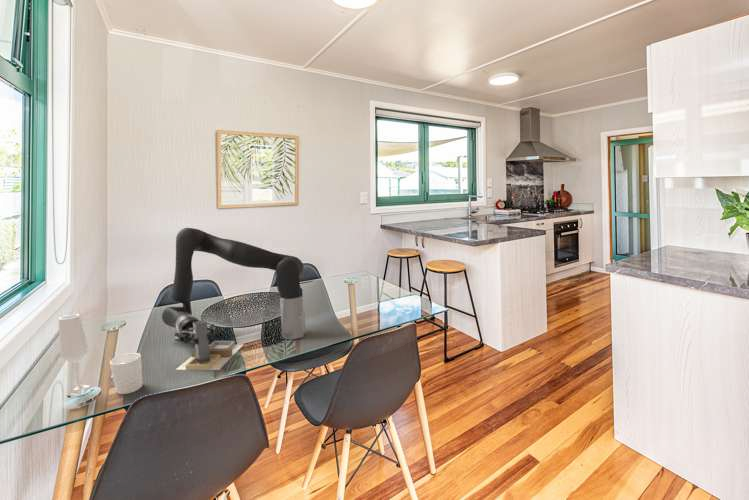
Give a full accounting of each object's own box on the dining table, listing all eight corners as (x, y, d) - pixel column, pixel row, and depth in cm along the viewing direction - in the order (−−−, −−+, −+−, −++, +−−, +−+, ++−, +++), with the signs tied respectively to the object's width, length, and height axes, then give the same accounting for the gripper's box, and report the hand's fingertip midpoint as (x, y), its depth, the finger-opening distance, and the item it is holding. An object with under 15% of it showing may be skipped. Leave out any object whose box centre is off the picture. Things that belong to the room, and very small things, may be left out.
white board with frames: (206, 346, 141) (205, 338, 140) (244, 346, 140) (243, 338, 140) (175, 372, 121) (174, 362, 120) (219, 372, 120) (218, 362, 119)
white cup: (126, 381, 115) (122, 352, 113) (150, 381, 115) (146, 352, 113) (107, 395, 107) (103, 364, 106) (133, 395, 107) (129, 364, 105)
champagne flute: (60, 396, 107) (47, 320, 103) (82, 385, 114) (70, 312, 110) (79, 398, 106) (67, 321, 102) (100, 386, 112) (89, 313, 109)
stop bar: (207, 357, 127) (203, 319, 125) (210, 360, 124) (206, 322, 122) (196, 360, 124) (192, 322, 122) (199, 363, 122) (195, 324, 120)
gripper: (166, 321, 128) (179, 335, 116) (208, 312, 138) (224, 323, 125) (169, 341, 129) (182, 356, 117) (209, 330, 139) (226, 344, 126)
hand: (203, 339), depth 121 cm, fingers closed on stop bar, 3 cm apart
